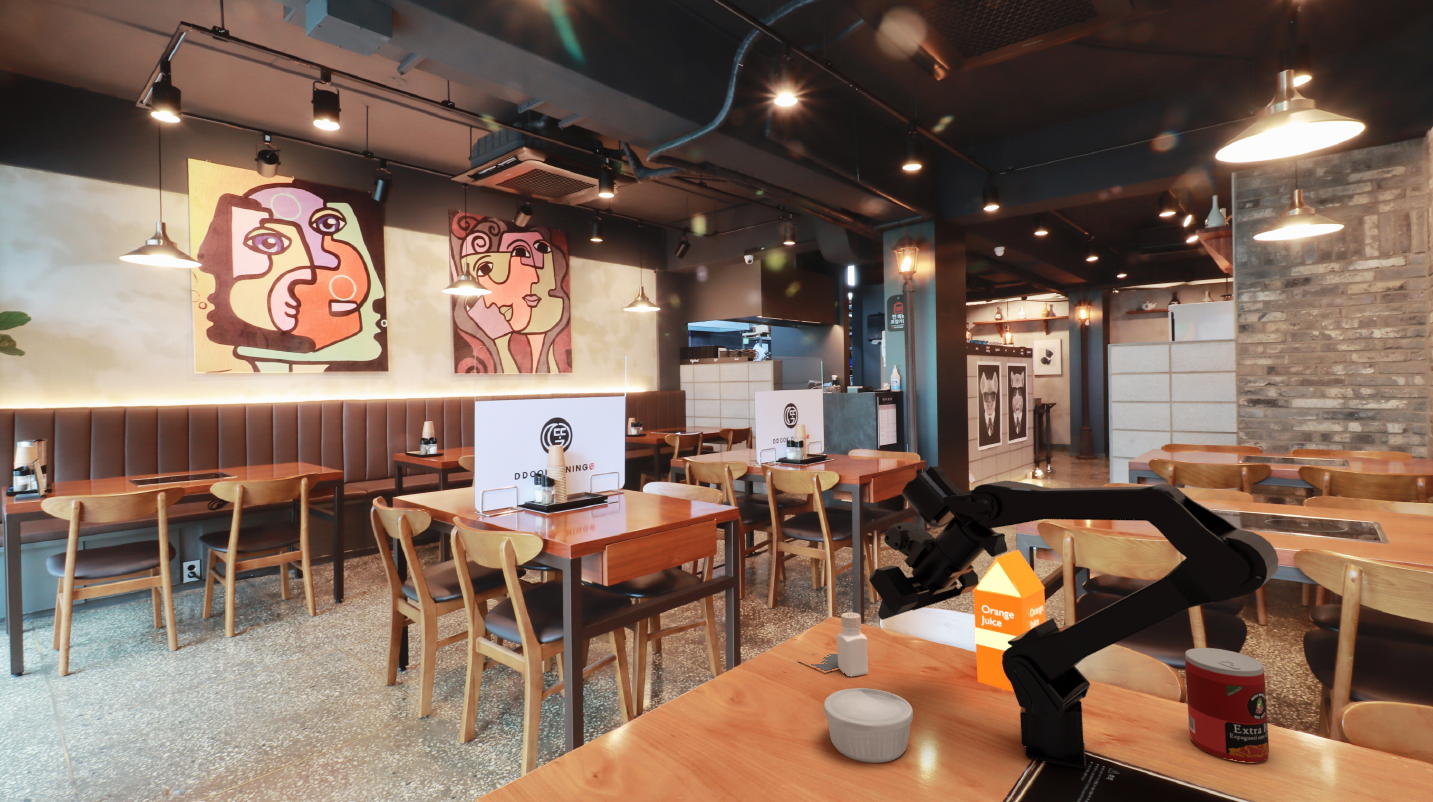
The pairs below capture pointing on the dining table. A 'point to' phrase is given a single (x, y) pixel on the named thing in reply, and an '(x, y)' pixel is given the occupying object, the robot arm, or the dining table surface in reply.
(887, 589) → the robot arm
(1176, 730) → the dining table surface
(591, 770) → the dining table surface
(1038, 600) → the orange juice
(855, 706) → the ramekin
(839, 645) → the pepper shaker
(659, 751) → the dining table surface
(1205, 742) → the canned food
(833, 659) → the coaster
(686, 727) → the dining table surface
